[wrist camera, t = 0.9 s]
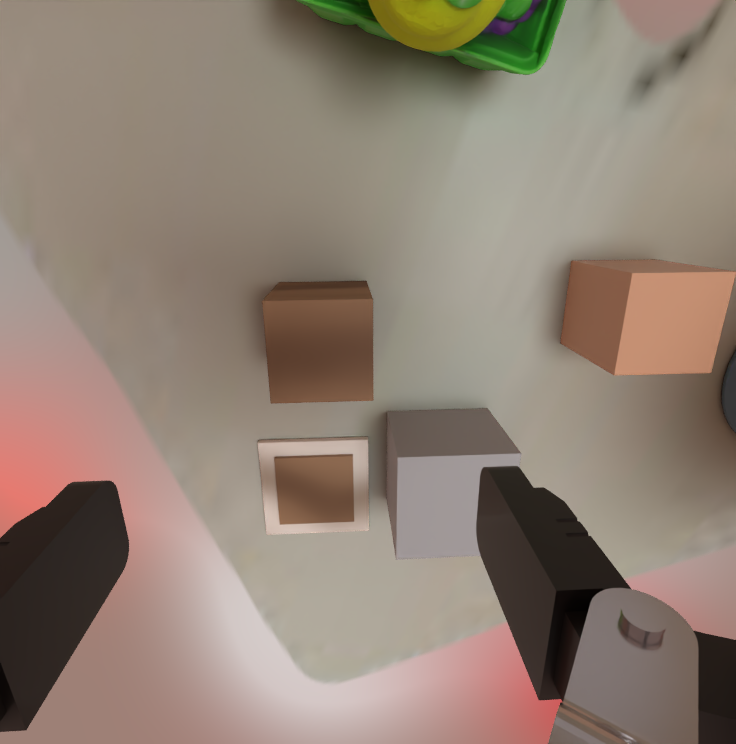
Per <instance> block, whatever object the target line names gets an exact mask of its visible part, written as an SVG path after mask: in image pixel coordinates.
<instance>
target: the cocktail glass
mask: <svg viewBox="0 0 736 744" xmlns="http://www.w3.org/2000/svg"><path fill="white" fill-rule="evenodd" d="M722 405H723V410H724V414H725V417H726V419H727V421H728V424H729V425H730V426H731V428H732V429H733V431H734V432H735V433H736V351H735V353H734V355H733V357H732V359H731V361H730V363H729V365H728V368H727V371H726V374H725V377H724V382H723V388H722Z"/></svg>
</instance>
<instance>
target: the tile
mask: <svg viewBox="0 0 736 744" xmlns="http://www.w3.org/2000/svg"><path fill="white" fill-rule="evenodd" d="M258 451H259V461H260V471H261V482H262V492H263V502H264V513H265V523H266V533H267V535H272V534H297V533H321V532H345V531H369V481H368V437H344V438H312V439H280V440H259V441H258Z"/></svg>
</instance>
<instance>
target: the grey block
mask: <svg viewBox="0 0 736 744" xmlns="http://www.w3.org/2000/svg"><path fill="white" fill-rule="evenodd" d="M520 460H521V452H520V451H519V450H518V448H517V447H516V446H515V444H514V443H513V442H512V440H511V439H510V438H509V436H508V435H507V434H506V432H505V431H504V430H503V428H502V427H501V426H500V424H499V423H498V422H497V420H496V419H495V418H494V416H493V415H492V414H491V412H490V411H489V410H488V408H479V409H444V410H409V411H387V504H388V511H389V517H390V523H391V530H392V536H393V542H394V549H395V555H396V560H397V559H420V558H442V557H464V556H481V555H480V552H479V548H478V543H477V535H476V521H477V508H478V496H479V483H480V474H481V470H482V468H483V467H497V466H518V467H519V468H520Z"/></svg>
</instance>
